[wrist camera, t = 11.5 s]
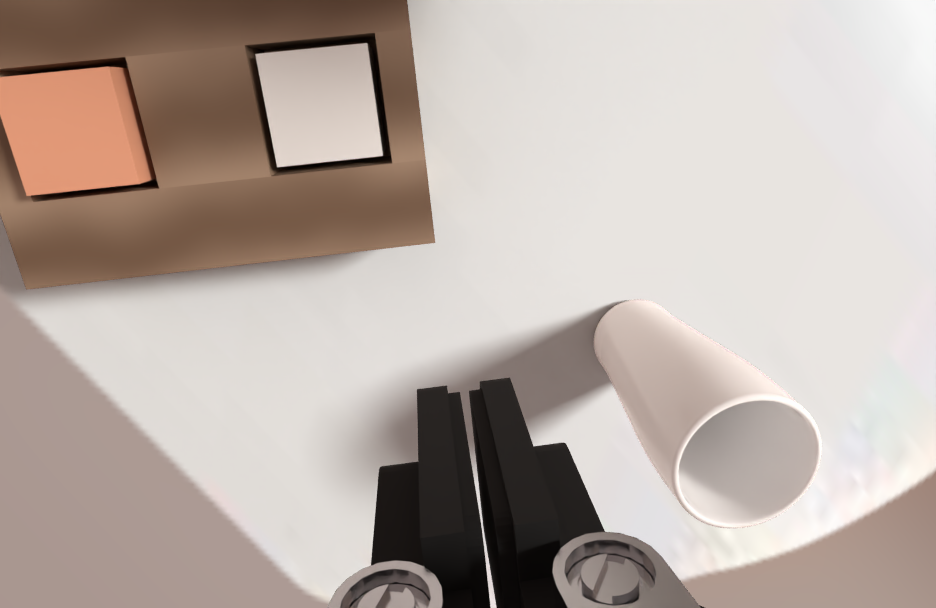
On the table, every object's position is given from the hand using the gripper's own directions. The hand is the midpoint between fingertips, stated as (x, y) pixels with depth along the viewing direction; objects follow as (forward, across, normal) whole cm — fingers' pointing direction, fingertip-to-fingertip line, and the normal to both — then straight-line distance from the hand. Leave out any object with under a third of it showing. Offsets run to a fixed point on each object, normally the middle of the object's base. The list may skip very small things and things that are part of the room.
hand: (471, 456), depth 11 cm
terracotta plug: (+24, +16, -6) cm, 29 cm away
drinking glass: (+27, -12, +10) cm, 31 cm away
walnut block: (+27, +10, -6) cm, 30 cm away
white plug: (+25, +4, -6) cm, 26 cm away
